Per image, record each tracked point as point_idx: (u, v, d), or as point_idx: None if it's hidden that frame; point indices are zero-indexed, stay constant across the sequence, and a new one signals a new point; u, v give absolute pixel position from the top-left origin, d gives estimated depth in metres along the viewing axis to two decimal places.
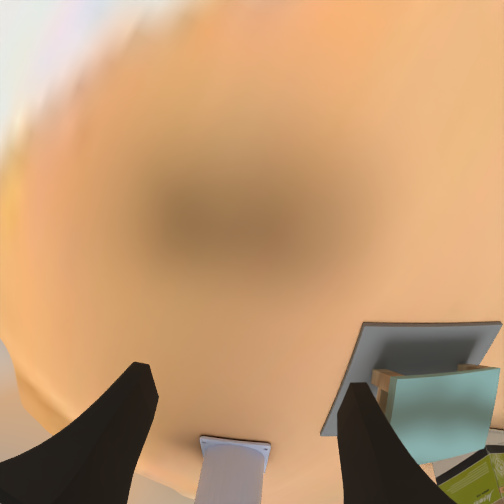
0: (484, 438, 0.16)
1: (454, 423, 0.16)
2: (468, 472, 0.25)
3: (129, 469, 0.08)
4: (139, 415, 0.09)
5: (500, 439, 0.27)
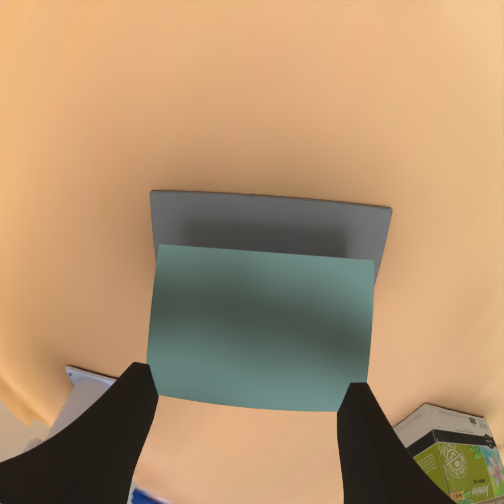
0: None
1: (275, 343, 0.13)
2: None
3: (129, 469, 0.08)
4: (139, 415, 0.09)
5: (461, 425, 0.24)
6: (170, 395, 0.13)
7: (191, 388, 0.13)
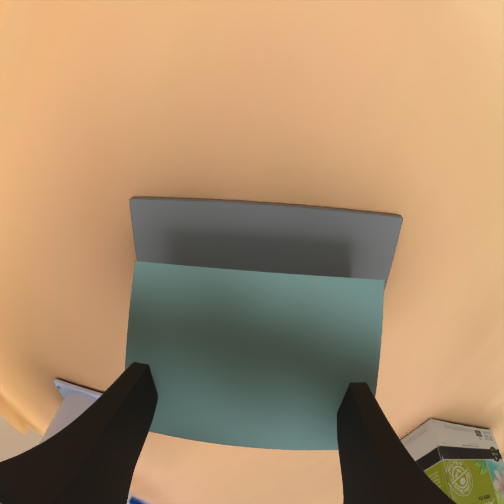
0: None
1: (268, 376, 0.11)
2: None
3: (129, 469, 0.08)
4: (139, 415, 0.09)
5: (466, 439, 0.21)
6: (151, 430, 0.11)
7: (173, 424, 0.11)
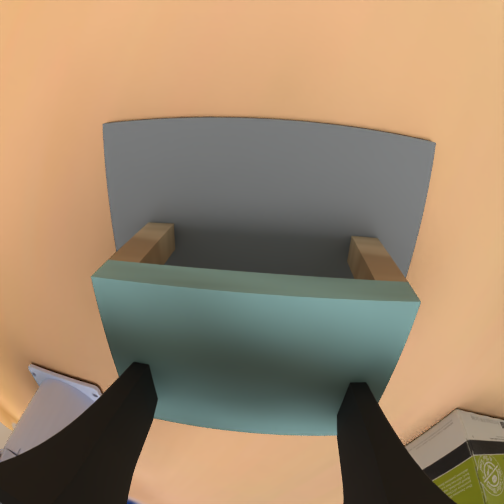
0: None
1: (267, 389, 0.10)
2: (437, 485, 0.16)
3: (129, 469, 0.08)
4: (139, 415, 0.09)
5: (494, 432, 0.18)
6: (158, 418, 0.12)
7: (178, 416, 0.11)
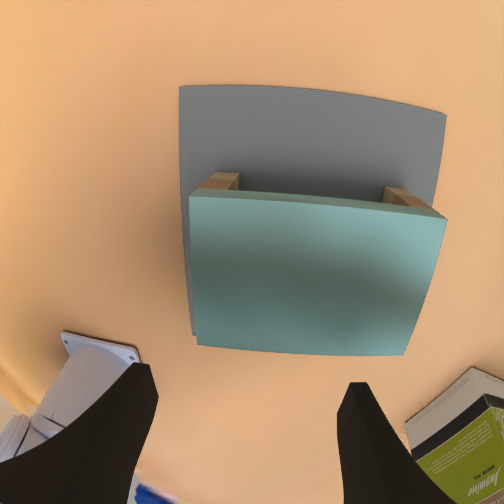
0: (403, 340, 0.13)
1: (331, 300, 0.12)
2: (458, 439, 0.18)
3: (129, 469, 0.08)
4: (139, 415, 0.09)
5: None
6: (223, 347, 0.14)
7: (244, 340, 0.14)
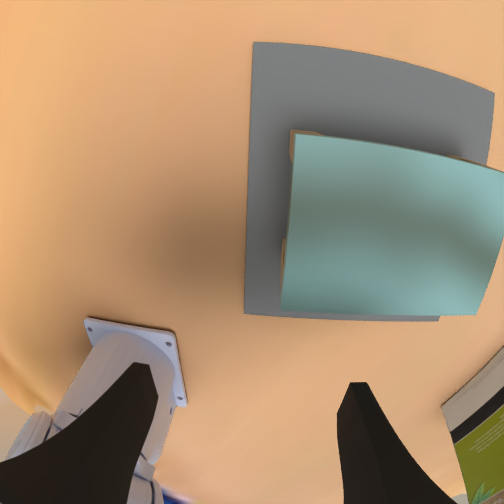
0: (478, 297, 0.12)
1: (425, 253, 0.11)
2: (500, 415, 0.17)
3: (129, 469, 0.08)
4: (139, 415, 0.09)
5: None
6: (310, 310, 0.13)
7: (334, 302, 0.12)
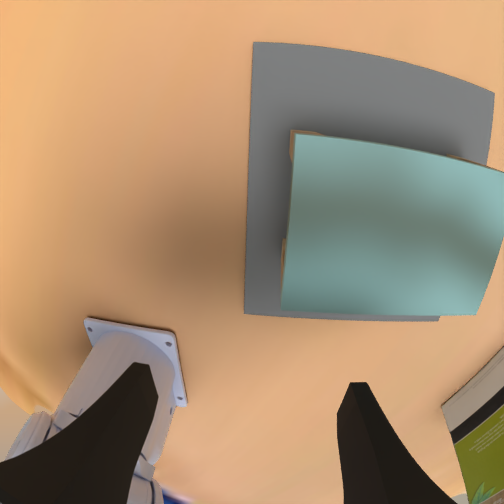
0: (478, 297, 0.12)
1: (425, 253, 0.11)
2: (500, 415, 0.17)
3: (129, 469, 0.08)
4: (139, 415, 0.09)
5: None
6: (310, 310, 0.13)
7: (334, 302, 0.12)
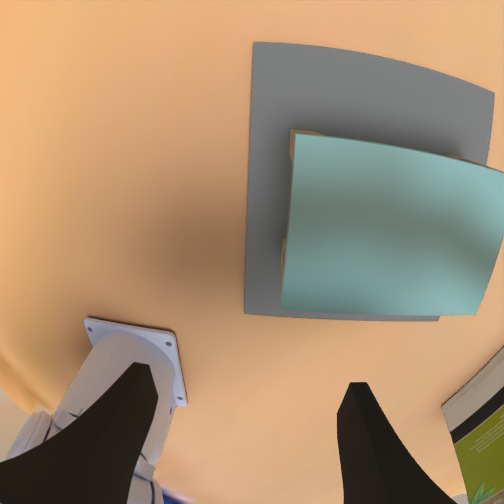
0: (478, 297, 0.12)
1: (425, 253, 0.11)
2: (500, 415, 0.17)
3: (129, 469, 0.08)
4: (139, 415, 0.09)
5: None
6: (310, 310, 0.13)
7: (334, 302, 0.12)
